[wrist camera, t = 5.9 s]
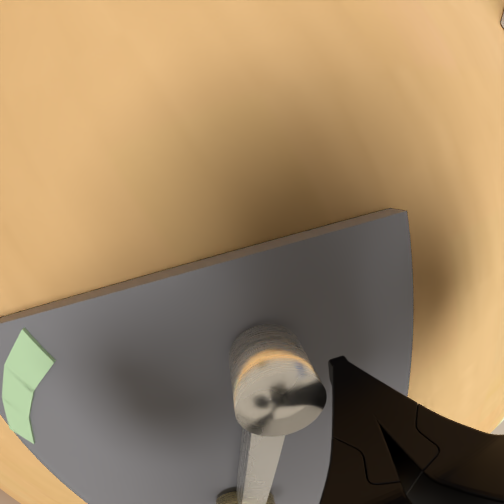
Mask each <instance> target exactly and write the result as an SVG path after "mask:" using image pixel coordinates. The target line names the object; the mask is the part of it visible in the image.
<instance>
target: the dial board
mask: <svg viewBox="0 0 504 504" xmlns="http://www.w3.org/2000/svg"><path fill="white" fill-rule="evenodd" d="M265 324H273V325H279V326H282V327H285V328H287V329H288V330H290V331H291V332H292V333H294V335H295V336H296V337H297V339H298V340H299V342H300V344H301V346H302V348H303V349H304V351H305V353H306V355H307V357H308V358H309V360H310V362H311V364H312V366H313V367H314V369H315V371H316V373H317V375H318V376H319V378H320V380H321V382H322V384H323V385H324V387H325V390H326V394H327V400H326V404H325V407H324V409H323V411H322V412H321V414H320V415H319V416H318V417H317V418H316V419H315V420H314V421H313V422H312V423H311V424H309V425H308V426H306V427H305V428H303V429H301V430H299V431H296V432H294V433H291V434H288V435H285V438H284V442H283V446H282V450H281V454H280V457H279V461H278V465H277V468H276V472H275V475H274V479H273V482H272V486H271V489H270V492H269V493H271V494H272V495H273V496H274V501H275V504H319V502H320V499H321V495H322V492H323V488H324V485H325V481H326V477H327V472H328V467H329V462H330V452H331V436H332V385H331V382H330V378H329V367H328V361H329V360H330V359H332V358H335V357H339V356H342V355H344V356H345V357H346V358H347V360H348V361H349V362H351V363H352V364H354V365H356V366H357V367H359V368H360V369H362V370H364V371H365V372H367V373H368V374H370V375H372V376H373V377H375V378H377V379H378V380H380V381H381V382H383V383H385V384H386V385H388V386H390V387H391V388H393V389H395V390H396V391H398V392H400V393H402V394H403V395H405V396H407V395H408V387H409V378H410V368H411V357H412V341H413V271H412V254H411V242H410V232H409V223H408V215H407V211H405V210H399V209H392V208H389V209H385V210H382V211H378V212H374V213H370V214H367V215H363V216H359V217H356V218H352V219H348V220H345V221H341V222H337V223H333V224H330V225H326V226H322V227H319V228H315V229H311V230H308V231H304V232H300V233H297V234H293V235H289V236H286V237H282V238H278V239H275V240H271V241H268V242H264V243H260V244H257V245H253V246H249V247H246V248H242V249H239V250H235V251H231V252H228V253H224V254H221V255H217V256H213V257H210V258H206V259H203V260H199V261H196V262H192V263H188V264H185V265H181V266H178V267H174V268H171V269H167V270H163V271H160V272H156V273H153V274H149V275H146V276H142V277H139V278H135V279H132V280H128V281H125V282H121V283H118V284H114V285H111V286H107V287H104V288H100V289H97V290H93V291H90V292H86V293H83V294H79V295H76V296H72V297H69V298H65V299H62V300H58V301H55V302H52V303H48V304H45V305H41V306H38V307H34V308H31V309H28V310H24V311H21V312H17V313H14V314H11V315H7V316H4V317H0V415H1V416H2V417H3V419H4V420H5V421H6V423H7V424H8V425H9V428H10V429H11V430H12V431H14V433H15V434H16V435H17V436H18V437H19V439H20V440H21V441H22V442H23V443H24V444H25V446H26V447H27V448H28V449H29V450H30V451H31V452H32V453H33V454H34V455H35V456H36V458H37V459H38V460H39V461H40V462H41V463H42V464H43V465H44V466H45V467H46V468H47V469H48V470H49V471H50V472H51V473H53V474H54V475H55V476H56V477H57V478H58V479H59V480H60V481H61V482H62V483H63V484H65V485H66V486H67V487H68V488H69V489H70V490H72V491H73V492H74V493H75V494H76V495H78V496H79V497H80V498H81V499H83V500H84V501H85V502H86V503H88V504H216V500H217V498H218V497H220V496H221V495H224V494H226V493H230V492H234V491H236V489H237V479H238V468H239V458H240V447H241V436H242V426H241V425H240V424H239V423H238V421H237V419H236V416H235V409H234V401H233V392H232V384H231V375H230V365H229V352H230V348H231V346H232V344H233V342H234V341H235V340H236V338H237V337H238V336H239V335H241V334H242V333H243V332H245V331H246V330H248V329H250V328H253V327H255V326H259V325H265Z"/></svg>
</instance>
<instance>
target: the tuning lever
mask: <svg viewBox="0 0 504 504" xmlns="http://www.w3.org/2000/svg"><path fill="white" fill-rule="evenodd" d="M229 365H230V375H231V384H232V392H233V401H234V409H235V416H236V419H237V421H238V423H239V424H240V425H241V426H242V436H241V447H240V458H239V468H238V479H237V489H236V491H234V492H230V493H226V494H224V495H221V496H220V497H218V498H217V500H216V504H275V501H274V496H273V495H272V494H271V493H269V492H270V489H271V486H272V482H273V479H274V475H275V472H276V468H277V465H278V461H279V457H280V454H281V450H282V446H283V442H284V438H285V435H288V434H291V433H294V432H296V431H299V430H301V429H303V428H305V427H306V426H308V425H309V424H311V423H312V422H313V421H314V420H315V419H316V418H317V417H318V416H319V415H320V414H321V412H322V411H323V409H324V407H325V404H326V400H327V394H326V390H325V387H324V385H323V384H322V382H321V380H320V378H319V376H318V375H317V373H316V371H315V369H314V367H313V366H312V364H311V362H310V360H309V358H308V357H307V355H306V353H305V351H304V349H303V348H302V346H301V344H300V342H299V340H298V339H297V337H296V336H295V335H294V333H292V332H291V331H290V330H288V329H287V328H285V327H282V326H279V325H273V324H265V325H259V326H255V327H253V328H250V329H248V330H246V331H245V332H243V333H242V334H241V335H239V336H238V337H237V338H236V340H235V341H234V342H233V344H232V346H231V348H230V352H229Z"/></svg>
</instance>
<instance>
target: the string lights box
mask: <svg viewBox="0 0 504 504" xmlns="http://www.w3.org/2000/svg"><path fill="white" fill-rule="evenodd" d="M501 25H502V27H503V28H504V13H503V16H502V20H501Z"/></svg>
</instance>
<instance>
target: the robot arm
mask: <svg viewBox="0 0 504 504" xmlns="http://www.w3.org/2000/svg"><path fill="white" fill-rule="evenodd" d="M328 367H329V378H330V382H331V385H332V436H331V452H330V462H329V467H328V472H327V477H326V481H325V485H324V488H323V492H322V495H321V499H320V502H319V504H504V435H494V434H488V433H485V432H482V431H479V430H476V429H473V428H471V427H468V426H465V425H463V424H460V423H457V422H455V421H452V420H450V419H448V418H445V417H443V416H441V415H439V414H437V413H435V412H433V411H431V410H429V409H427V408H426V407H424V406H422V405H420V404H418V403H417V402H415V401H413V400H412V399H410V398H408V397H407V396H405V395H403V394H402V393H400V392H398V391H396V390H395V389H393V388H391V387H390V386H388V385H386V384H385V383H383V382H381V381H380V380H378V379H377V378H375V377H373V376H372V375H370V374H368V373H367V372H365V371H364V370H362V369H360V368H359V367H357V366H356V365H354V364H352V363H351V362H349V361H348V360H347V358H346V357H345V356H344V355H342V356H339V357H335V358H332V359H330V360H329V361H328Z"/></svg>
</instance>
